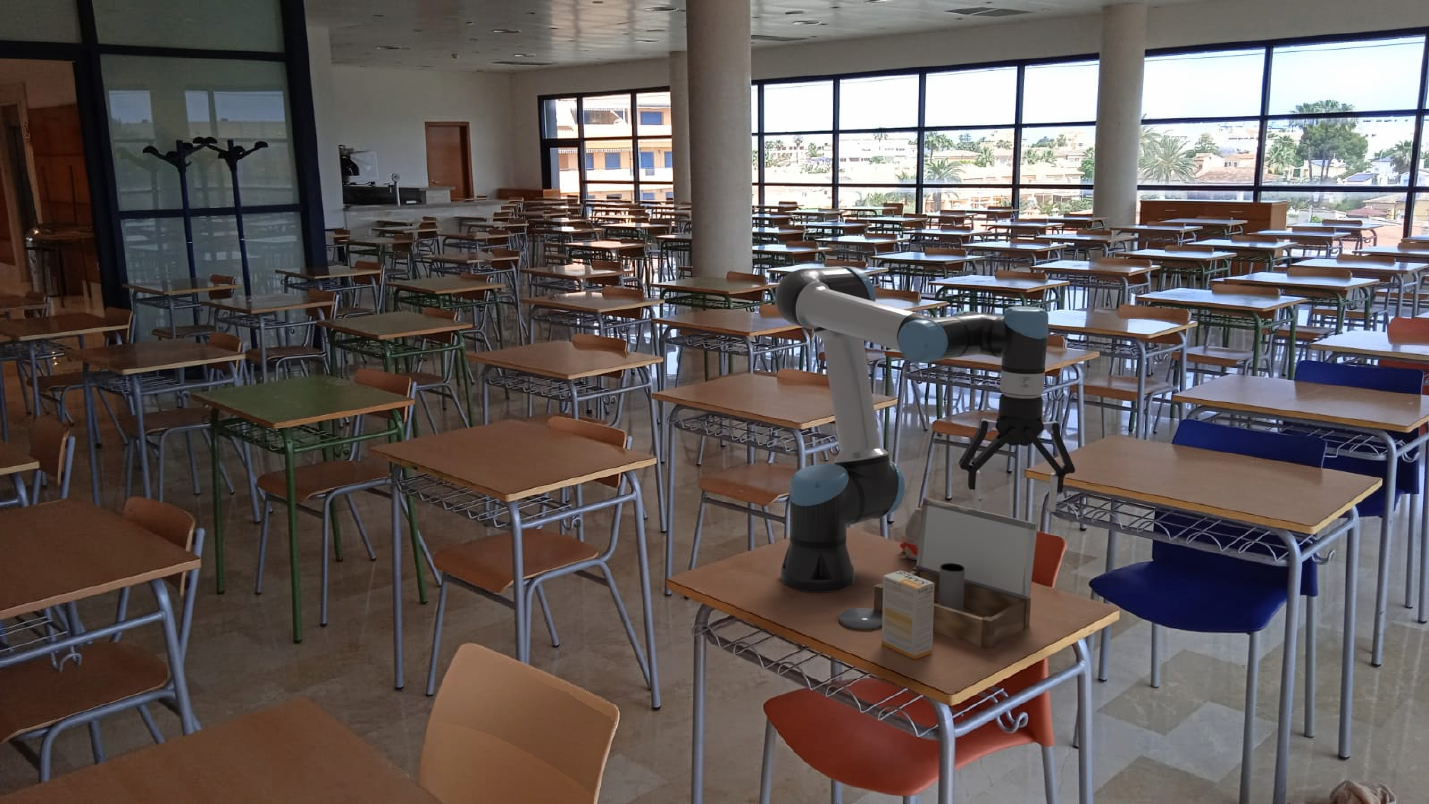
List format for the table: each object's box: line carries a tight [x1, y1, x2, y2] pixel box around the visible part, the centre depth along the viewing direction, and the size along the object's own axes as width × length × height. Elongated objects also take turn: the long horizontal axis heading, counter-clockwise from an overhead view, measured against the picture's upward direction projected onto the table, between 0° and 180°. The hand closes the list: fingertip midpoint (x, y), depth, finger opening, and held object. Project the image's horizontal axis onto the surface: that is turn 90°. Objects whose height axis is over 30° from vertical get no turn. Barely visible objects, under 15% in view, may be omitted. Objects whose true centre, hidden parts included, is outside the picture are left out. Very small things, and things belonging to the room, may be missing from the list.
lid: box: [914, 497, 1039, 600], centre depth 200 cm, size 24×14×1 cm
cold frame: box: [873, 567, 1032, 651], centre depth 197 cm, size 25×15×5 cm, turn 46°
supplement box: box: [881, 570, 935, 660], centre depth 183 cm, size 8×5×13 cm, turn 35°
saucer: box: [839, 607, 883, 631], centre depth 197 cm, size 8×8×1 cm
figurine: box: [899, 507, 922, 561], centre depth 230 cm, size 9×7×12 cm
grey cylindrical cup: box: [938, 563, 965, 612], centre depth 196 cm, size 4×4×10 cm
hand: (1013, 508), depth 192 cm, fingers open, 13 cm apart
